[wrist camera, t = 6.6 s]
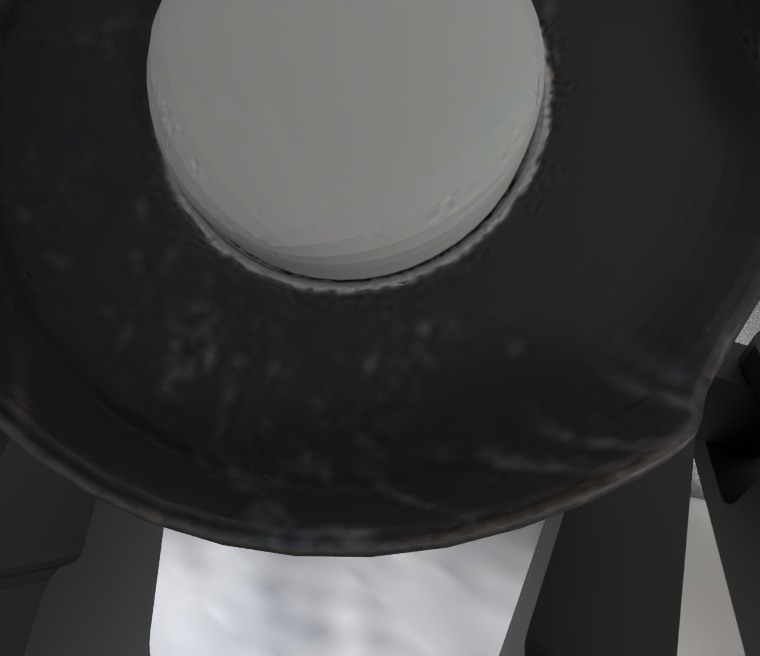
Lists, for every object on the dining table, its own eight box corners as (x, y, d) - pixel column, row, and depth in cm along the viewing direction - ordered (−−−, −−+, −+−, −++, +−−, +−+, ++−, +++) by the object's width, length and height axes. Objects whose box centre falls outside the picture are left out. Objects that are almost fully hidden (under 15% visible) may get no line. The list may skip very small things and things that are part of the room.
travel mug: (317, 273, 24) (-195, -264, 4) (465, 238, 23) (712, -565, 4) (348, 423, 23) (-130, 691, 3) (503, 389, 22) (1143, 443, 3)
